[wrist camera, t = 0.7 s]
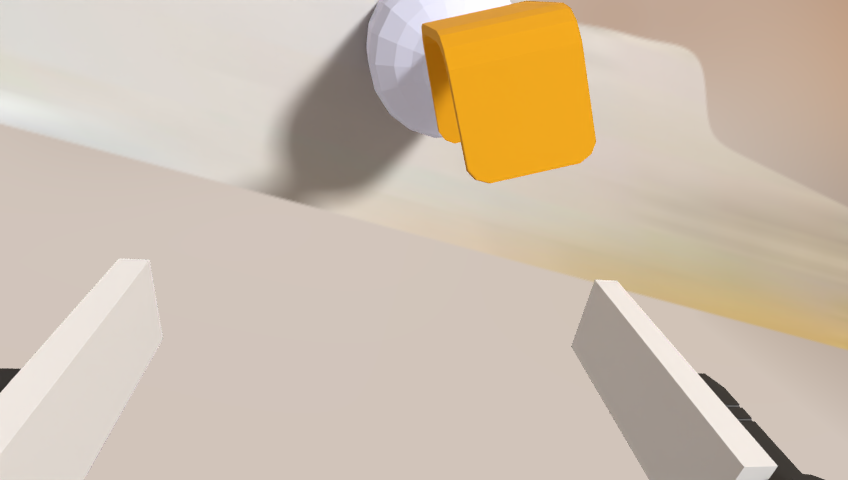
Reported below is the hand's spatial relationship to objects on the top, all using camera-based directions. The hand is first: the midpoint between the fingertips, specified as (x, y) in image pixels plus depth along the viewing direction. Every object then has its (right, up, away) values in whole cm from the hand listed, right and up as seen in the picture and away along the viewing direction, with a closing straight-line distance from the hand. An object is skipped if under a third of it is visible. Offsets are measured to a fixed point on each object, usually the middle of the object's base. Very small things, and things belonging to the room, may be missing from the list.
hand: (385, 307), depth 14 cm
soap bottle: (+1, +17, +21) cm, 27 cm away
